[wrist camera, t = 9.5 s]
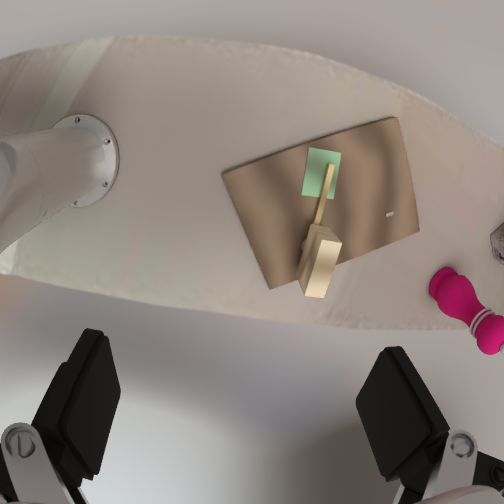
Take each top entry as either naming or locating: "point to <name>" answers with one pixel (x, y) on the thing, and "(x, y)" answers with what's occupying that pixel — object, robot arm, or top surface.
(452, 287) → the pepper mill
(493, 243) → the coffee box
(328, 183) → the wooden mallet
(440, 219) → the top surface
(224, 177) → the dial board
